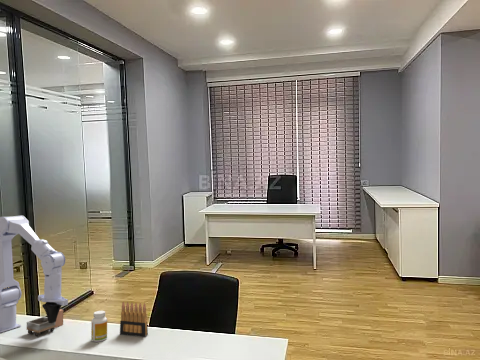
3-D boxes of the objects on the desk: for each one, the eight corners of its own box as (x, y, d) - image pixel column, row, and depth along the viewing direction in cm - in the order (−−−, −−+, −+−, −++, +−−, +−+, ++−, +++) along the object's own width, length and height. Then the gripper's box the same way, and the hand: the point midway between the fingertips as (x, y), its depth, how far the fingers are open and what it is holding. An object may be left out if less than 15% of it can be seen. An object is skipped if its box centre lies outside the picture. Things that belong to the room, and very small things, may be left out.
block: (47, 326, 151) (47, 311, 151) (56, 323, 154) (56, 308, 154) (54, 328, 149) (54, 312, 149) (63, 324, 152) (63, 309, 153)
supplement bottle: (110, 337, 138) (110, 311, 139) (99, 343, 134) (99, 315, 134) (99, 335, 141) (99, 309, 141) (88, 340, 136) (88, 313, 136)
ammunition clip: (147, 335, 141) (148, 302, 141) (145, 337, 139) (145, 304, 139) (122, 332, 144) (122, 300, 144) (119, 334, 142) (119, 302, 142)
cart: (26, 333, 143) (26, 322, 143) (43, 327, 149) (43, 316, 149) (38, 336, 139) (38, 325, 139) (55, 330, 145) (55, 319, 146)
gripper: (30, 285, 141) (29, 322, 141) (56, 290, 135) (55, 329, 134) (47, 281, 148) (47, 316, 147) (73, 286, 141) (72, 323, 140)
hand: (52, 322), depth 141 cm, fingers closed
